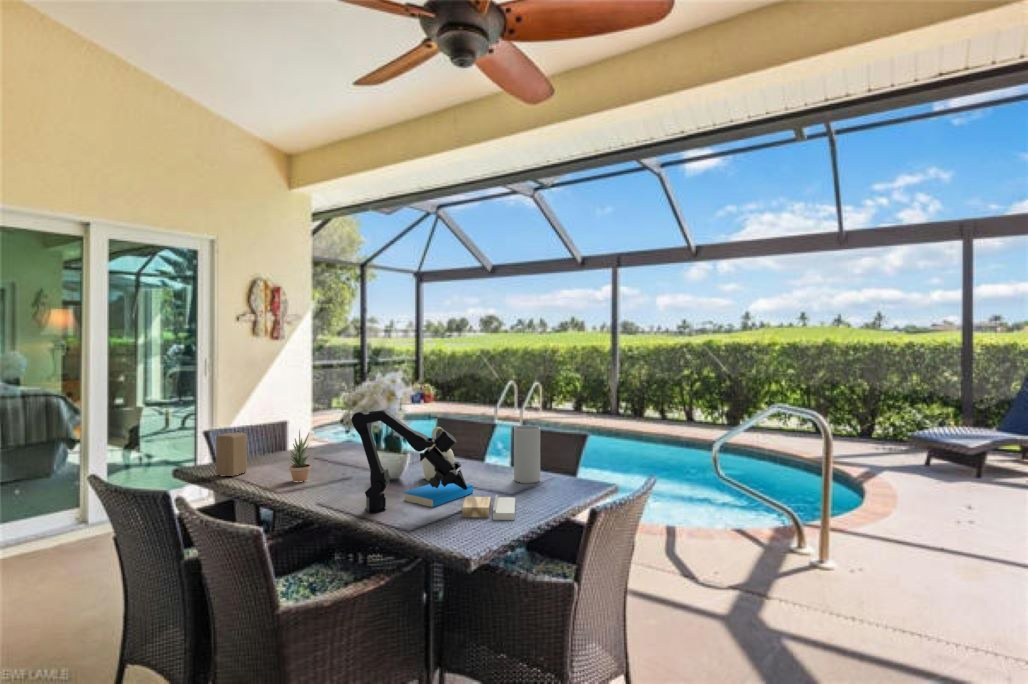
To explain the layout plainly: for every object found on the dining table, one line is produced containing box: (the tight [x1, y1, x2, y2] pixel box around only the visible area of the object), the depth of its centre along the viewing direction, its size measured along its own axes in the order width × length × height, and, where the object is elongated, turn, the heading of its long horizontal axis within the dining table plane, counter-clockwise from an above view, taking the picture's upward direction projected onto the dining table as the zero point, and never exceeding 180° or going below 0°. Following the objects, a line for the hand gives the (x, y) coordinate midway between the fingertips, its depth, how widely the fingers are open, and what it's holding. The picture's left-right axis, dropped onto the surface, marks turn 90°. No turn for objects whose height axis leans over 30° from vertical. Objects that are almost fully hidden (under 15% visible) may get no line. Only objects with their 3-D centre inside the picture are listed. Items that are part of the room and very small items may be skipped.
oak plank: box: [461, 496, 492, 518], centre depth 214 cm, size 4×14×10 cm
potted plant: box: [289, 428, 312, 482], centre depth 258 cm, size 10×10×25 cm
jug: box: [421, 426, 455, 482], centre depth 263 cm, size 15×16×25 cm
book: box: [403, 482, 474, 508], centre depth 233 cm, size 17×4×25 cm
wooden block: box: [215, 431, 248, 477], centre depth 270 cm, size 10×10×20 cm
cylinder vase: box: [513, 425, 541, 484], centre depth 261 cm, size 12×12×25 cm
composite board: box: [492, 494, 516, 521], centre depth 214 cm, size 8×20×4 cm, turn 179°
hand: (466, 489), depth 214 cm, fingers closed
